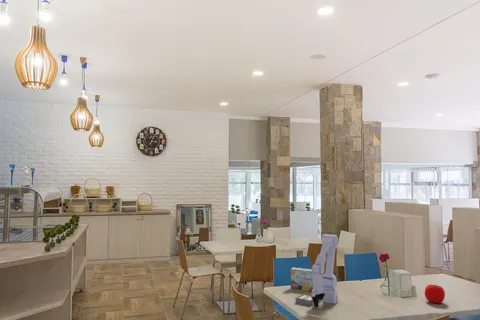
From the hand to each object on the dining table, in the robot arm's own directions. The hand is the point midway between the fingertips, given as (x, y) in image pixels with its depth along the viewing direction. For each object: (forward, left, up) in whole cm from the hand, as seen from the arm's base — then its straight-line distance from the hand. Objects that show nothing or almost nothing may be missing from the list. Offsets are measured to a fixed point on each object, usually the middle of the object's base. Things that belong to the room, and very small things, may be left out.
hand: (318, 306), depth 252 cm
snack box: (+27, -36, -2) cm, 45 cm away
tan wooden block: (+10, -5, -1) cm, 11 cm away
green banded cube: (0, 0, -2) cm, 2 cm away
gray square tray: (+10, -5, -1) cm, 11 cm away
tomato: (-56, -60, -2) cm, 82 cm away
